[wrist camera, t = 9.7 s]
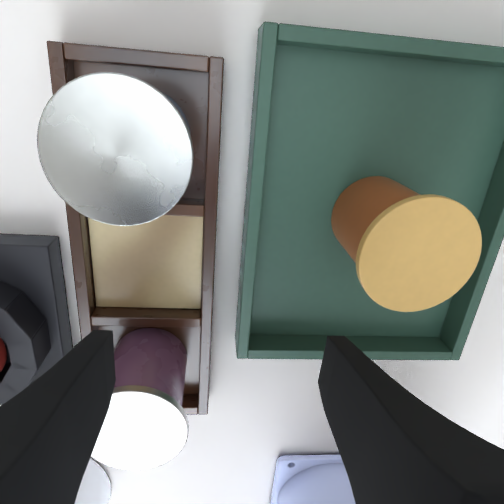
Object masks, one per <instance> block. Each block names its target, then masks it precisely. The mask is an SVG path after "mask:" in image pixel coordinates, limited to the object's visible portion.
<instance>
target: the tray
mask: <svg viewBox="0 0 504 504" xmlns="http://www.w3.org/2000/svg"><path fill="white" fill-rule="evenodd" d="M371 176H382V177H387V178H390V179H392V180H394V181H396V182H398V183H400V184H402V185H404V186H405V187H407V188H409V189H411V190H413V191H415V192H417V193H418V194H420V195H424V194H434V195H441V196H445V197H448V198H450V199H453V200H455V201H457V202H459V203H461V204H462V205H464V206H465V207H466V208H467V209H468V210H470V211H471V213H472V214H473V215H474V217H475V218H476V220H477V222H478V224H479V227H480V230H481V236H482V248H481V254H480V258H479V261H478V264H477V266H476V268H475V270H474V272H473V274H472V275H471V277H470V278H469V280H468V281H467V282H466V283H465V284H464V286H463V287H462V288H461V289H460V290H459V291H458V292H457V293H455V294H454V295H453V296H451V297H450V298H449V299H447V300H445V301H444V302H442V303H440V304H438V305H436V306H434V307H431V308H428V309H424V310H421V311H414V312H400V311H394V310H390V309H388V308H385V307H383V306H381V305H379V304H377V303H376V302H375V301H373V300H372V299H371V298H370V297H369V296H368V294H367V293H366V292H365V290H364V289H363V287H362V286H361V284H360V282H359V279H358V276H357V271H356V263H355V262H354V260H353V259H352V258H351V257H350V255H349V254H348V253H347V252H346V250H345V249H344V248H343V246H342V245H341V244H340V243H339V241H338V240H337V238H336V237H335V235H334V233H333V230H332V225H331V216H332V211H333V207H334V205H335V203H336V201H337V199H338V197H339V196H340V194H341V193H342V192H343V191H344V190H345V189H346V188H347V187H348V186H350V185H351V184H352V183H354V182H356V181H358V180H360V179H363V178H366V177H371ZM503 238H504V47H498V46H489V45H480V44H470V43H461V42H451V41H442V40H433V39H423V38H414V37H405V36H395V35H386V34H376V33H367V32H358V31H348V30H339V29H330V28H320V27H311V26H301V25H292V24H283V23H280V24H278V23H273V22H264V23H263V24H262V25H261V27H260V28H259V29H258V41H257V54H256V68H255V81H254V94H253V108H252V121H251V134H250V147H249V161H248V174H247V187H246V201H245V214H244V227H243V241H242V254H241V267H240V280H239V294H238V307H237V320H236V334H235V340H236V353H237V358H247V357H248V359H323V355H324V350H325V345H326V340H327V336H345V337H346V338H348V339H349V340H350V341H351V342H352V343H353V344H354V345H355V346H357V347H358V348H359V349H360V350H361V351H362V352H363V353H364V354H365V355H366V356H367V357H369V358H370V359H371V360H459V359H460V356H461V353H462V350H463V348H464V345H465V342H466V339H467V337H468V334H469V331H470V328H471V326H472V323H473V320H474V317H475V315H476V312H477V309H478V306H479V304H480V301H481V298H482V295H483V293H484V290H485V287H486V284H487V282H488V279H489V276H490V273H491V271H492V268H493V265H494V262H495V260H496V257H497V254H498V251H499V249H500V246H501V243H502V240H503Z"/></svg>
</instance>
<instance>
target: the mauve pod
mask: <svg viewBox="0 0 504 504" xmlns="http://www.w3.org/2000/svg"><path fill="white" fill-rule="evenodd" d="M114 360H115V376H116V381H115V385H114V390H113V394H112V398H111V402H110V406H109V410H108V412H107V415H106V418H105V420H104V423H103V426H102V428H101V431H100V434H99V436H98V439H97V441H96V444H95V447H94V449H93V452H92V455H91V457H92V458H94V459H95V460H97V461H99V462H100V463H102V464H105V465H107V466H110V467H113V468H118V469H123V470H144V469H150V468H154V467H157V466H160V465H162V464H164V463H166V462H168V461H170V460H171V459H173V458H174V457H175V456H176V455H177V454H178V453H179V452H180V451H181V450H182V448H183V447H184V445H185V443H186V440H187V437H188V428H189V425H188V418H187V415H186V413H185V411H184V409H183V408H182V403H183V394H184V384H185V375H186V365H187V353H186V349H185V347H184V345H183V344H182V342H181V341H180V340H179V339H178V338H177V337H176V336H175V335H173V334H172V333H170V332H168V331H165V330H162V329H158V328H141V329H137V330H134V331H132V332H130V333H128V334H126V335H125V336H124V337H123V338H122V339H121V340H120V341H119V342H118V344H117V346H116V348H115V350H114Z"/></svg>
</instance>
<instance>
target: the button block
mask: <svg viewBox="0 0 504 504" xmlns="http://www.w3.org/2000/svg"><path fill="white" fill-rule="evenodd" d="M0 338H1V339H2V340H3V342H4V344H5V347H6V351H7V360H6V364H5V366H4V368H3V369H2V371H1V372H0V405H2V404H4V403H5V402H7V401H8V400H10V399H11V398H13V397H14V396H16V395H17V394H18V393H20V392H21V391H22V390H24V389H25V388H26V387H28V386H29V385H30V384H31V383H33V382H34V381H35V380H36V379H38V378H39V377H40V376H42V375H43V374H44V373H45V372H46V371H48V370H49V369H50V368H51V367H52V366H53V365H55V364H56V363H57V362H58V361H59V360H60V359H61V358H63V357H64V356H65V355H66V354H67V353H68V352H69V351H70V350H71V349H73V347H72V340H71V332H70V324H69V316H68V308H67V301H66V293H65V285H64V277H63V270H62V262H61V254H60V246H59V238H58V237H57V236H37V235H13V234H0Z"/></svg>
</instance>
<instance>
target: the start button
mask: <svg viewBox="0 0 504 504" xmlns="http://www.w3.org/2000/svg"><path fill="white" fill-rule="evenodd" d="M6 360H7V351H6V347H5V344H4V342H3V340H2V339H1V338H0V372H1V371H2V369H3V368H4V366H5V364H6Z"/></svg>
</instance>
